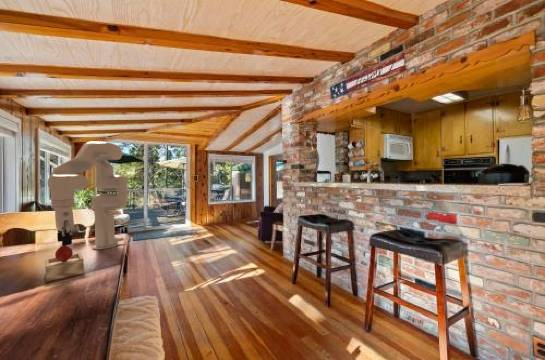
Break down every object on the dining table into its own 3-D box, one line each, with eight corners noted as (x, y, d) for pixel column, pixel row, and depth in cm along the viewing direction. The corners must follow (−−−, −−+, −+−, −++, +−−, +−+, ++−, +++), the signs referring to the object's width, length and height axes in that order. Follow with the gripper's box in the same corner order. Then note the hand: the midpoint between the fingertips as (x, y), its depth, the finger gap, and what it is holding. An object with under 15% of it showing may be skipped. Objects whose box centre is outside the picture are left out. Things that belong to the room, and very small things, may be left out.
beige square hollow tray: (80, 266, 115) (80, 252, 115) (83, 273, 106) (83, 258, 106) (45, 274, 106) (45, 259, 106) (46, 282, 98) (45, 266, 98)
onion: (52, 263, 105) (52, 244, 105) (68, 259, 110) (68, 241, 110) (59, 265, 102) (58, 246, 102) (75, 261, 108) (74, 242, 107)
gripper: (78, 204, 103) (80, 244, 104) (69, 201, 114) (71, 237, 115) (55, 206, 98) (57, 249, 98) (47, 203, 109) (49, 241, 109)
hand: (64, 242), depth 107 cm, fingers open, 9 cm apart
